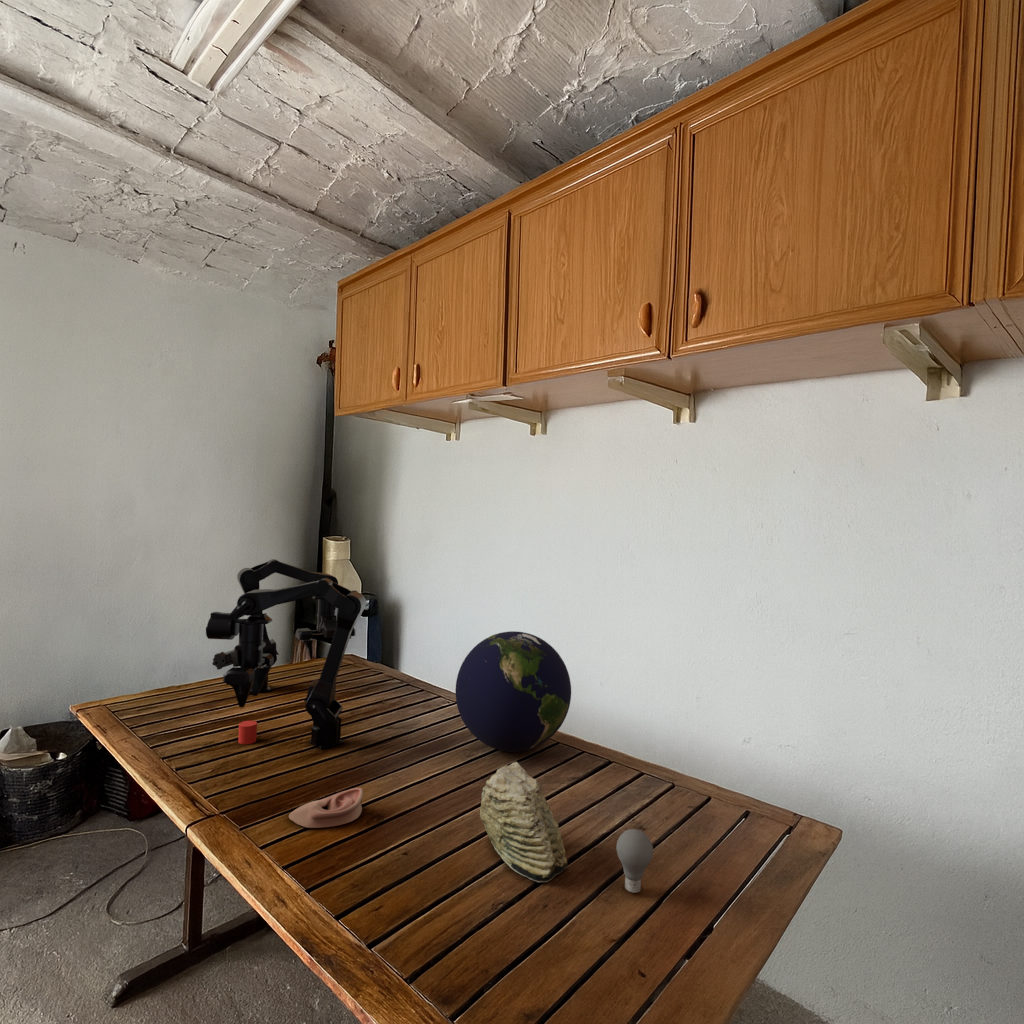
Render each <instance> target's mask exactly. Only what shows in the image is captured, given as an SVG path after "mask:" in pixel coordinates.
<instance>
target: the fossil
mask: <svg viewBox="0 0 1024 1024" xmlns="http://www.w3.org/2000/svg"><path fill="white" fill-rule="evenodd" d="M479 819H480V820H481V822H482V823H483V827H484V829H485V832H486V833H487V836H488V838H489V840H490V842H491V844H492V845H493V848H494V850H495V852H496V853H497V854H498V856H500V858H501V859H502V861H503V862H504V863H505V864H506V865H507V867H509V868H510V869H511V870H513V871H514V873H517V874H519V875H520V876H522V877H525V878H527V879H528V880H531V881H533V882H536V883H548V882H550V881H552V880H553V879H554V878H555V877H556V876H557V875H560V874H561V873H563V872H564V871H565V870H566V868H567V867H568V866H569V863H568V859H567V856H566V848H565V847H564V841H563V838H562V834H561V831H560V826H559V824H558V822H557V821H556V818H555V817H554V813H553V811H552V810H551V807H550V805H549V803H548V802H547V799H546V796H545V794H544V790H543V789H542V786H541V784H540V781H539V780H537V779H535V778H533V777H532V776H531V775H529V773H528V772H527V771H526V769H524V768H523V766H521V764H520V763H519V762H518V761H513V762H512V763H511V764H509V765H507V764H506V765H504V766H502V767H500V768H498V769H497V770H496V772H495V773H494V774H492V775H491V776H490V778H489V779H487V780H486V782H485V786H483V788H482V792H481V802H480V808H479Z"/></svg>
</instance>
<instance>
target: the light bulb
mask: <svg viewBox="0 0 1024 1024" xmlns="http://www.w3.org/2000/svg"><path fill="white" fill-rule="evenodd" d="M615 849H616V854H617V857H618V859H619V861H620V863H621V865H622V867H623V873H624V874H623V875H624V876H625V878H624V888H625V890H627V891H628V892H630V893H634V894H635V893H639V892H640V891H641V889H642V887H641V886H642V879H643V877H644V875H645V871H646V868H647V867H648V866H649V864H650V863H651V861H652V859H653V855H654V847H653V843H652V841H651V838H649V836H648V835H647V834H646V833H645V832H643V831H642V830H641V829H636V828H629V829H627V830H625V831H623V832H622V833H621V834H620V835H619V837H618V839H617V841H616V847H615Z"/></svg>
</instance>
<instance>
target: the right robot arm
mask: <svg viewBox="0 0 1024 1024" xmlns="http://www.w3.org/2000/svg"><path fill="white" fill-rule="evenodd" d="M352 591H353V590H350V589H349V588H347V587H345V586H343V585H340V584H339V583H338V584H336V583H335V582H333V581H331V580H330V579H328V578H324V579H321V580H319V581H314V582H309V583H307V582H305V583H301V584H296V585H292V586H287V587H282V588H274V589H271V588H269V589H268V588H263V589H260V588H259V590H252V591H250V592H247V593H245V594H244V593H241V594H240V596H239V597H238V598H237V602H236V606H234V609H232V611H231V612H222V611H221V612H220V611H212V612H211V613H210V615H209V616H210V617H209V619H208V621H207V624H206V626H205V635H206V638H207V639H208V640H228V641H229V640H230V641H231V640H234V639H235V637H237V636H238V644H237V645H235V646H234V648H233V649H232V650H229V651H225V652H224V651H221V652H217V653H215V654H214V656H213V658H212V661H213V662H212V663H211V664H212V666H214V667H215V668H216V670H217V671H219V670H222V669H224V668H226V667H229V666H232V667H231V668H229V669H228V670H226V672H224V674H223V675H222V676H223V677H222V683H224V684H225V685H227V686H230V687H231V688H232V689H233V691H234V694H235V698H236V701H237V704H238V707H239V708H245V706H246V704H247V701H248V698H249V695H250V694H251V693H250V691H251V688H252V692H253V693H252V696H254V697H258V695H259V693H260V692H259V691H260V689H261V687H262V685H263V683H264V681H265V679H266V677H267V675H268V676H269V673H270V671H271V669H272V668H273V666H274V665H275V664H274V657H273V656H272V655H271V654H264V653H263V648H264V647H265V642H263V625H264V624H265V625H268V624H270V623H272V622H273V619H272V618H271V617H270V616H269V615H268V614H267V613H266V612H264V613H263V614H262V615H261V616H250V615H253V614H256V613H258V612H261V611H262V612H263V611H266V610H268V609H270V608H272V607H275V606H278V605H282V604H286V603H291V602H296V601H300V600H301V601H302V600H305V599H309V598H312V597H315V596H322V597H323V598H325V599H326V600H327V601H328V602H329V603H330V604H331V605H333V606H334V607H336V609H337V610H336V618H337V619H336V620H337V627H336V630H335V633H334V636H333V637H332V640H331V643H330V646H329V648H328V651H327V655H326V658H325V661H324V664H323V667H322V670H321V673H320V676H319V679H314V680H313V681H312V683H310V685H308V689H307V694H306V697H305V699H304V700H303V702H305V706H304V708H305V711H306V712H307V714H308V715H310V716H311V720H312V727H311V730H310V731H311V732H310V733H311V735H310V739H309V740H308V743H309V744H310V745H313V746H314V747H316V748H318V749H320V750H327V749H329V748H333V747H336V746H340V745H343V744H344V743H345V741H344V740H343V739H341V737H342V735H341V733H342V717H340V715H341V713H342V711H343V708H344V707H343V705H342V704H341V703H340V702H339V701H338V700H337V699H336V693H337V692H336V691H337V678H338V674H339V671H340V669H341V665H342V663H343V659H344V657H345V654H346V651H347V647H348V645H349V642H350V639H349V638H350V635H351V632H352V629H353V628H355V626H356V624H357V623H358V620H359V619H360V617H361V616H362V614H363V612H364V610H365V608H366V605H367V600H366V598H365V596H364V595H363V594H362V593H360V592H358V591H357V592H352ZM245 616H246V618H243V617H245ZM247 616H248V617H247ZM266 664H267V665H268V666H266ZM273 664H274V665H273ZM272 665H273V666H272Z"/></svg>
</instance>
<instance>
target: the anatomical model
mask: <svg viewBox="0 0 1024 1024" xmlns="http://www.w3.org/2000/svg"><path fill="white" fill-rule="evenodd" d="M363 796H364V791H363V789H362V788H361V787H354V788H349V789H346V790H343V791H340V792H337V793H335V794H332V795H330V796H327V797H324V798H322V799H318V800H313V801H310V802H307V803H305V804H302V805H300V806H299V807H297V808H296V809H294V810H293V811H292V812H291V811H290V813H289V815H288V818H289V820H291V822H293V823H295V824H296V825H298V826H301V827H303V828H306V829H321V828H322V829H323V828H330V827H331V828H332V827H337V826H341V825H345V824H348V823H351V822H353V821H355V820H356V819H358V818H359V817H360V816H361V814H362V811H363V806H362V803H361V802H362V800H363V798H364V797H363Z"/></svg>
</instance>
